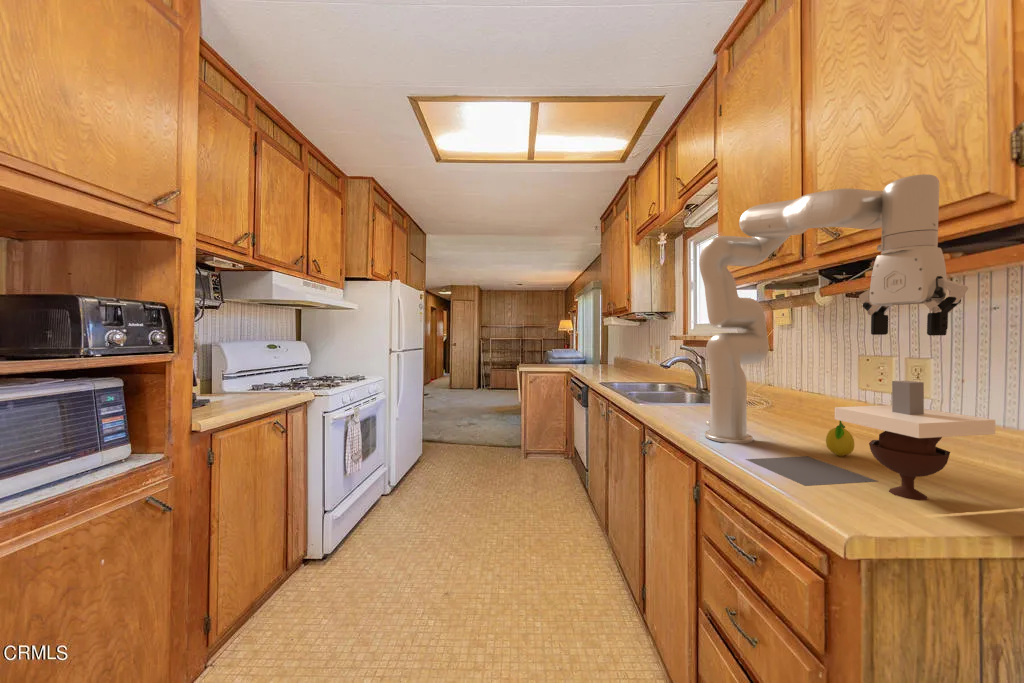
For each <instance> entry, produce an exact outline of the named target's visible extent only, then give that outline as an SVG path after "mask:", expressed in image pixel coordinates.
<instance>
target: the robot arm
mask: <svg viewBox="0 0 1024 683" xmlns="http://www.w3.org/2000/svg"><path fill="white" fill-rule="evenodd" d="M939 203H940V180H939V177H937V176H936V175H933V174H930V173H929V174H927V173H926V174H924V173H923V174H915V175H909V176H905V177H904V176H903V177H902V178H898V179H895V180H892V181H891V182H889V183H887V184H886V185H885V186H884V188H883V190H870V189H863V188H862V189H860V188H851V187H850V188H837V189H829V190H822V191H817V192H811V193H807V194H804V195H801V196H800V197H798V198H796V199H795V198H794V199H788V200H783V201H776V202H769V203H761V204H757V205H754V206H752V207H749V208H748V209H746V210H745V211H744V212H743V213H742V214H741V216H740V217H739V222H738V224H739V225H738V226H739V228H740V230H741V232H742V233H744V234H745V235H747V236H749V237H747V236H738V235H737V236H735V235H722V236H716V237H713V238H711V239H709V240H708V241H707V242H706V243H705V244H704V246H703V247H702V249H701V252H700V254H699V260H698V261H699V264H698V265H699V266H698V267H699V272H700V274H701V275H700V276H701V279H702V283H703V287H704V296H705V303H706V310H707V311H706V312H707V317H708V322H709V324H710V326H712V327H713V328H716V329H721V330H723V329H725V330H728V329H729V330H731V329H732V330H733V329H736V330H737V332H721V333H718V334H715V335H713V336H711V337H710V338H709V339H708V341H707V342H706V345H705V346H706V347H705V351H706V356H707V361H708V367H709V385H710V386H709V390H710V391H709V393H710V395H709V402H710V403H709V404H710V406H709V407H710V409H709V413H710V419H709V420H706V422H705V424H706V426H708V427H709V428H708V430H706V431H705V432H704V437H705V438H707V439H709V440H712V441H715V442H720V443H725V444H728V443H729V444H748V443H752V442H754V441H753V440H754V439H753V438H754V437H753V435H750V434H749V433H747V432H748V431H747V430H748V429H747V428H748V427H747V426H748V425H747V424H748V423H747V421H748V420H747V418H748V417H747V414H748V413H747V409H748V408H747V407H748V406H747V404H748V403H747V402H748V401H747V400H748V398H747V397H748V395H747V393H748V392H747V387H748V386H747V377H746V374H745V371H744V370H743V368H742V366H741V365H754V364H755V365H756V364H759V363H762V362H763V361H764V360H765V359H766V358H767V356H768V355H769V344H770V343H769V337H768V330H767V321H766V316H765V311H764V308H763V307H762V305H761V303H760V302H758V300H756V299H754V298H751V297H740V296H739V294H738V290H737V282H736V280H735V277H734V276H733V274H732V272H730V270H729V269H728V266H732V267H733V266H735V267H754V266H755V267H756V266H758V265H760V264H761V263H762V262H764V261H765V260H766V259H767V258H768V257H770V255H771V254H772V253H773V252H775V251H776V250H777V249H778V248H779V247H780V246H782V244H784V243H785V242H786V241H787V240H788V239H789V238H790V237H791V236H797V235H798V236H799V235H802V234H804V233H805V232H807V231H808V230H809V229H817V228H845V229H846V228H848V229H856V230H876V229H880V228H881V244H877V247H876V249H877V251H878V252H880V255H877V256H876V258H875V260H874V262H873V268H872V272H871V277H870V286H869V289H867V290H865V291H864V292H862V293H861V294H859V295H858V299H859V300H860V302H861V304H862V308H864V310H865V311H866V312H867V314H868V316H870V318H871V319H870V320H871V321H870V334H871V335H872V336H878V335H879V336H880V335H881V336H883V335H884V336H885V335H888V334H889V315H888V314H886V313H887V312H888V311H889V310H890V309H891V308H892V306H901V305H902V306H904V305H905V306H907V305H922V304H924V305H925V306H926V307H927V308H928V309H929V310H930V311H931V312H928V313H927V317H926V318H927V323H926V334H927V335H928V336H947V332H948V331H947V330H948V328H949V326H948V325H949V313H952V312H953V310H954V309H955V307H957V306H958V305H959V304H960V303H961V302H962V299H963V298H964V296H965V295H966V293H967V291H968V289H969V287H968V286H967V285H964V284H963V283H962V284H961V283H959V282H956V281H952V280H950V279H948V278H947V277H948V276H947V269H946V268H947V267H946V260H945V257H944V252H943V250H942V248H941V247H938V246H939V242H938V241H939V210H940V207H939V206H940V204H939ZM947 290H948V291H949V294H948V296H947ZM946 296H947V297H946Z"/></svg>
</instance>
